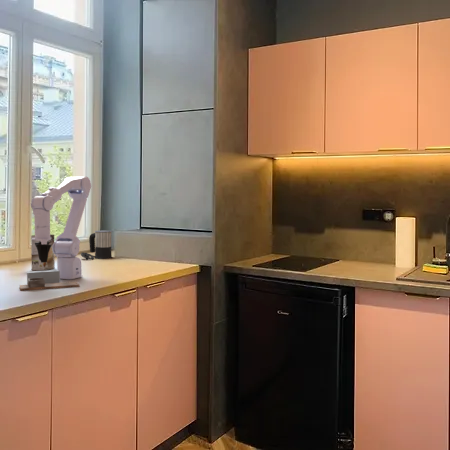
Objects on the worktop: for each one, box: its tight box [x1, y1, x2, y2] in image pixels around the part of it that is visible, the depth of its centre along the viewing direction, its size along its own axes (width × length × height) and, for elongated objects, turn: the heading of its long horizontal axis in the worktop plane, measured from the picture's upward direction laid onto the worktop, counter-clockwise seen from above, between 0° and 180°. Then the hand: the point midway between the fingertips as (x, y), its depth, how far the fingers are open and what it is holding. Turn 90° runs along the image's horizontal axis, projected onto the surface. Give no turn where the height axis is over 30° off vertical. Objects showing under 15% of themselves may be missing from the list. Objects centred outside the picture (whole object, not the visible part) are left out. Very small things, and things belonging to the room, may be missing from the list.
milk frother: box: [80, 229, 113, 261], centre depth 283 cm, size 14×16×15 cm
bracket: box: [19, 278, 80, 292], centre depth 199 cm, size 21×8×3 cm, turn 113°
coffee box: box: [30, 233, 56, 271], centre depth 244 cm, size 9×6×16 cm
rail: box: [26, 269, 61, 285], centre depth 207 cm, size 12×3×5 cm, turn 113°
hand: (43, 261), depth 206 cm, fingers open, 7 cm apart
